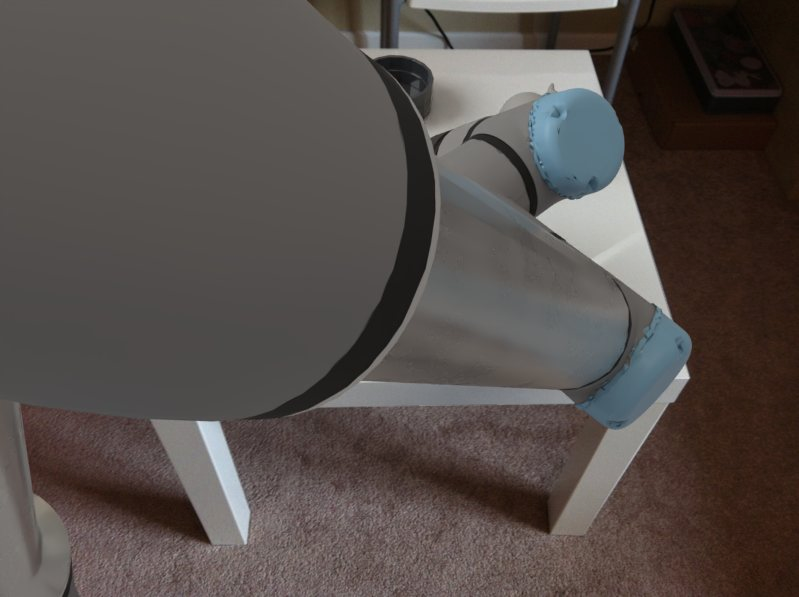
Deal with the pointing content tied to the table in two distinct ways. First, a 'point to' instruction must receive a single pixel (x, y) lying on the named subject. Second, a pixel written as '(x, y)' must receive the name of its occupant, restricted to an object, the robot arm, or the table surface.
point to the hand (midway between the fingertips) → (356, 198)
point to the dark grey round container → (411, 79)
